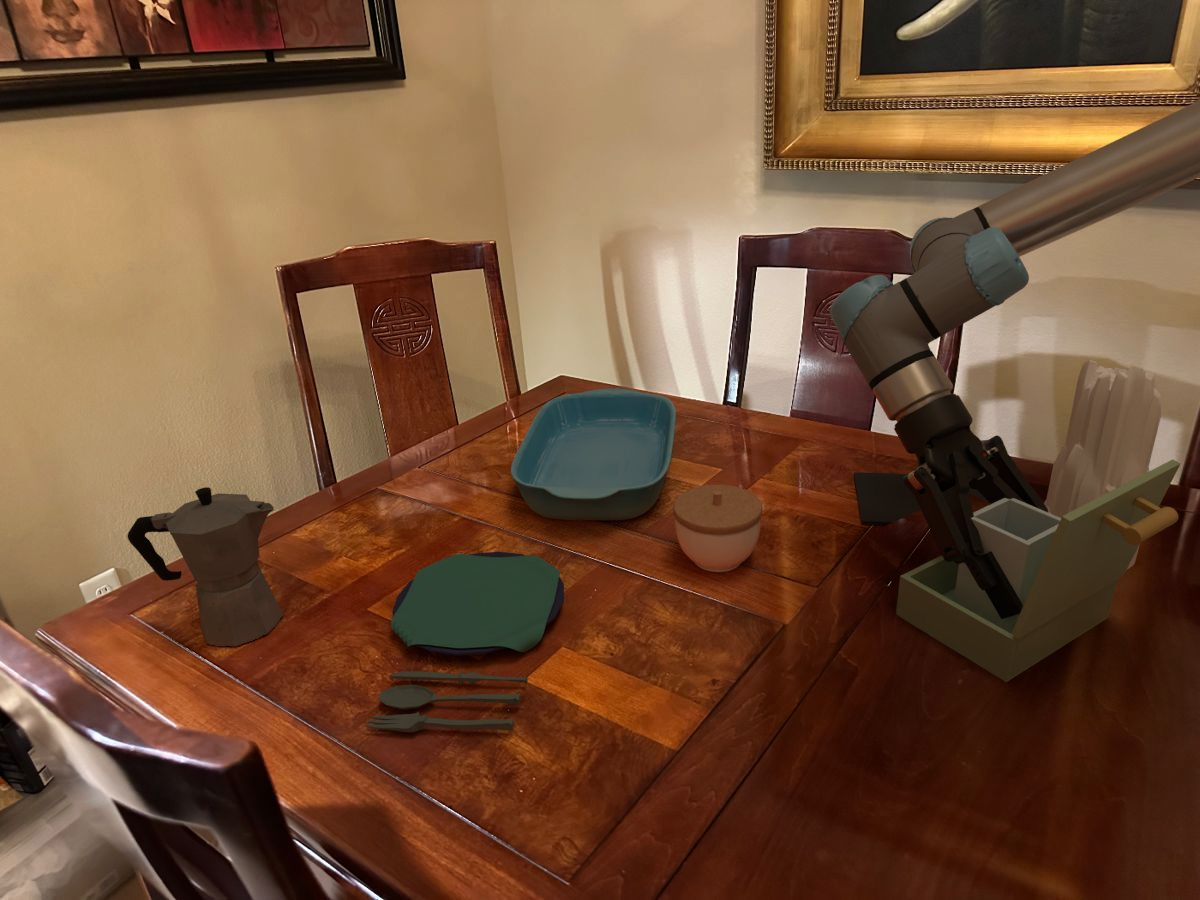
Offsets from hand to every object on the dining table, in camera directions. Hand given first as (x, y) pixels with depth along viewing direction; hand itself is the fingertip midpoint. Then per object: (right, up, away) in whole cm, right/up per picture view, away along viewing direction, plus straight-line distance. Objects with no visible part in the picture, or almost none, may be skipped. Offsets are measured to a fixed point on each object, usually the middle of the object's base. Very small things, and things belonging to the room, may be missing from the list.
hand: (1036, 600), depth 86 cm
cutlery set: (-59, -6, +8) cm, 60 cm away
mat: (0, +8, +28) cm, 30 cm away
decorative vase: (+14, +3, +15) cm, 21 cm away
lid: (+2, +6, -7) cm, 10 cm away
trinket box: (-30, +2, +19) cm, 36 cm away
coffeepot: (-88, -5, +12) cm, 89 cm away
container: (-2, -2, +4) cm, 5 cm away
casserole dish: (-45, +11, +41) cm, 62 cm away
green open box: (-2, -3, +5) cm, 6 cm away
